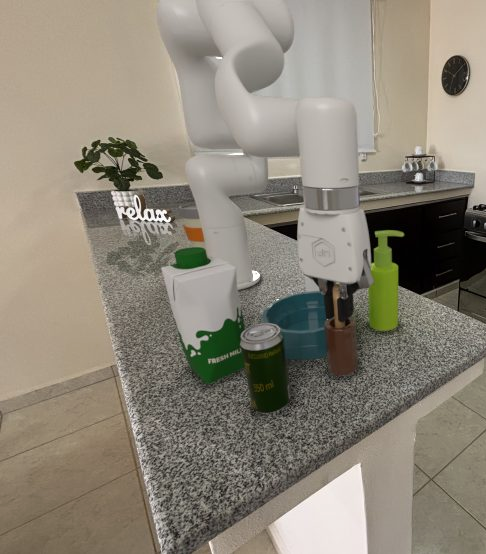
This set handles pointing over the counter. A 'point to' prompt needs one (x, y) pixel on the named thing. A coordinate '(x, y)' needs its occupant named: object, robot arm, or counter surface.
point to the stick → (335, 296)
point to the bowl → (300, 324)
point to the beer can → (265, 367)
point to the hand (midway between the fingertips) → (339, 316)
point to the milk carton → (206, 312)
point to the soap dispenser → (384, 285)
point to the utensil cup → (341, 347)
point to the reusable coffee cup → (192, 224)
